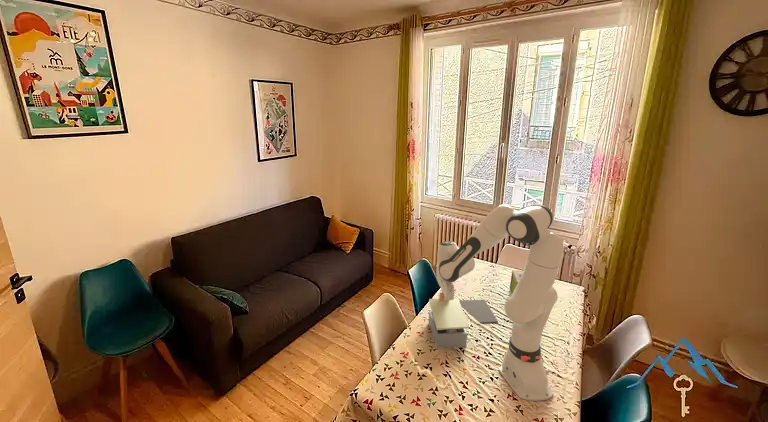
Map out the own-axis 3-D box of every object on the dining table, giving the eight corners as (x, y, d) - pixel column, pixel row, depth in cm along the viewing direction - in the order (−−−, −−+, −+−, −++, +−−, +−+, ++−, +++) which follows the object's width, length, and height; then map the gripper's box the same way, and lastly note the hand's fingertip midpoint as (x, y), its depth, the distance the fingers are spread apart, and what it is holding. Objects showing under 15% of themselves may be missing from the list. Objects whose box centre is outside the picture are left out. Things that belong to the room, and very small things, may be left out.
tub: (466, 347, 156) (467, 333, 154) (436, 349, 155) (437, 334, 153) (455, 323, 173) (456, 309, 171) (428, 324, 172) (429, 311, 170)
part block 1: (446, 331, 166) (447, 325, 164) (439, 333, 164) (439, 326, 163) (442, 327, 169) (443, 320, 168) (435, 328, 168) (435, 321, 167)
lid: (468, 330, 154) (469, 320, 151) (436, 331, 153) (437, 321, 150) (457, 301, 170) (458, 291, 167) (428, 302, 169) (429, 293, 166)
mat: (497, 322, 174) (498, 321, 174) (467, 323, 173) (467, 322, 173) (484, 300, 193) (484, 299, 193) (456, 301, 192) (456, 300, 192)
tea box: (531, 307, 186) (535, 284, 182) (512, 305, 188) (516, 282, 184) (526, 292, 200) (530, 270, 196) (508, 291, 202) (511, 269, 198)
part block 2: (458, 341, 160) (459, 333, 158) (451, 343, 158) (452, 336, 157) (453, 335, 163) (454, 328, 162) (446, 338, 161) (447, 331, 160)
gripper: (458, 283, 153) (456, 309, 157) (447, 263, 172) (445, 286, 177) (444, 284, 153) (443, 310, 157) (434, 263, 172) (433, 287, 176)
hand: (444, 297), depth 167 cm, fingers closed on lid
